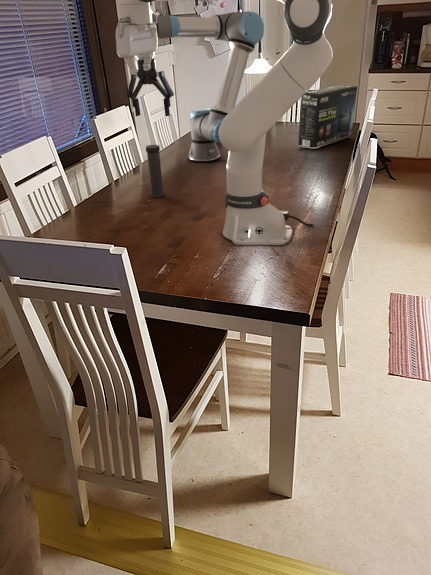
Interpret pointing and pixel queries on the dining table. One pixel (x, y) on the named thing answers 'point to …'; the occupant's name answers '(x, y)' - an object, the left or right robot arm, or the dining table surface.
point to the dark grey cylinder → (155, 174)
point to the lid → (152, 148)
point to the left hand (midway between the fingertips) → (152, 115)
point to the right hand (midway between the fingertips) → (140, 72)
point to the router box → (326, 115)
